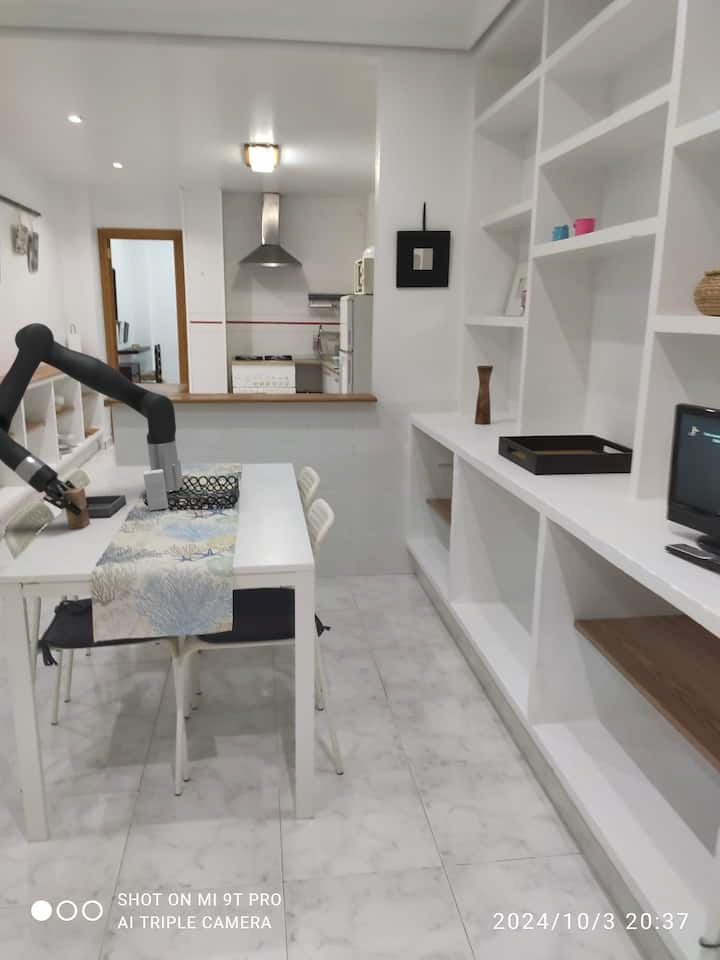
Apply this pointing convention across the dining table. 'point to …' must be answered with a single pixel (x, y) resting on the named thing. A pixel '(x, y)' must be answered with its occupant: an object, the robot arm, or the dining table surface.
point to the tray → (104, 505)
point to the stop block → (80, 501)
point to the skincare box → (155, 489)
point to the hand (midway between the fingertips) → (83, 510)
